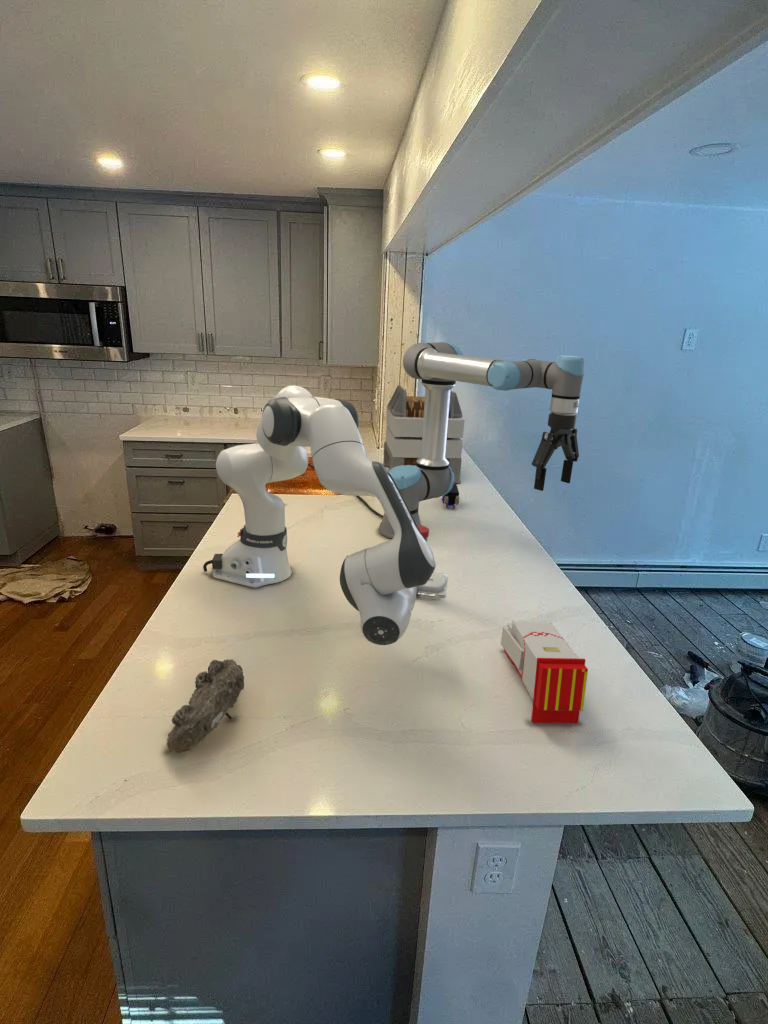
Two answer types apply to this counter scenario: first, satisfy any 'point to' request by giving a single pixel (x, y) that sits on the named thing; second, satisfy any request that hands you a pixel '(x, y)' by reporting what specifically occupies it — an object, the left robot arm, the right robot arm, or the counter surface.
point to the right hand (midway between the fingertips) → (552, 485)
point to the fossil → (206, 705)
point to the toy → (547, 670)
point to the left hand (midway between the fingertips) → (406, 566)
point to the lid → (424, 531)
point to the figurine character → (451, 497)
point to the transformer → (419, 431)
